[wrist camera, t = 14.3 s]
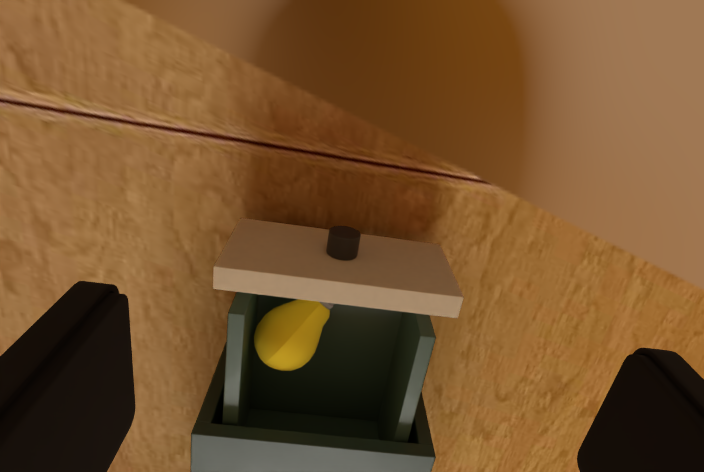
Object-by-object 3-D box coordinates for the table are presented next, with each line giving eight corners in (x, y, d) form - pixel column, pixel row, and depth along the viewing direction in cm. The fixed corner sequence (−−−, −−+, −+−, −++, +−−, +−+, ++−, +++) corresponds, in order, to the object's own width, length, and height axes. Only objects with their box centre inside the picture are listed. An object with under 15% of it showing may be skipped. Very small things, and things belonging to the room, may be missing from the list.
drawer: (241, 197, 25) (214, 241, 20) (445, 224, 26) (470, 274, 21) (229, 402, 31) (205, 478, 26) (395, 419, 32) (406, 496, 26)
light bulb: (284, 363, 27) (238, 328, 26) (354, 290, 27) (311, 252, 26) (292, 395, 24) (240, 357, 23) (370, 312, 24) (322, 270, 23)
